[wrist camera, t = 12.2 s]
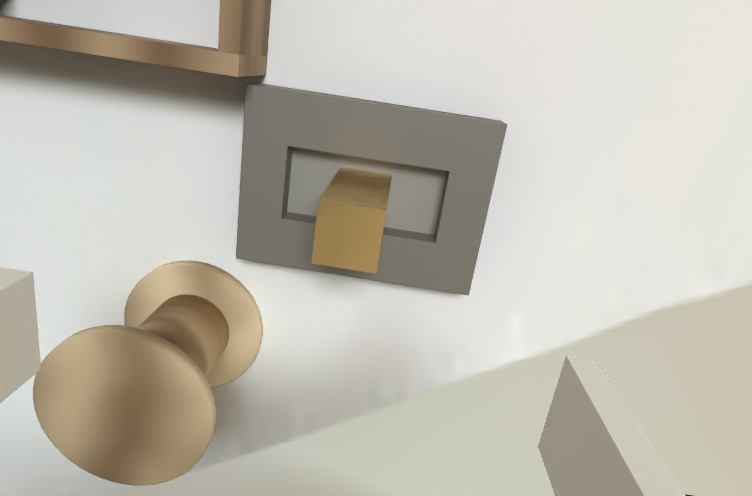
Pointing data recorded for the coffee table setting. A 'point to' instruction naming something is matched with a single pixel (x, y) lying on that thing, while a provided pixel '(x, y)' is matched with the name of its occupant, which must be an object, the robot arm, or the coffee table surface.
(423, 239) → the board
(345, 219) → the block
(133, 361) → the wooden spool
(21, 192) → the coffee table surface
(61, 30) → the caddy
